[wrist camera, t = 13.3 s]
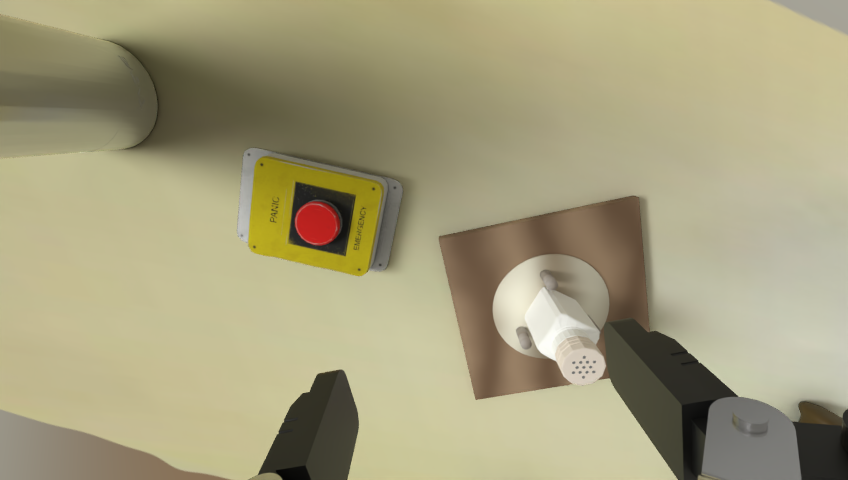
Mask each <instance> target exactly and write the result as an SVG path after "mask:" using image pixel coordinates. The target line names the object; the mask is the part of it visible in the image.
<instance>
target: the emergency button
mask: <svg viewBox="0 0 848 480" xmlns="http://www.w3.org/2000/svg"><path fill="white" fill-rule="evenodd" d="M402 194H403V187H402V185H401V184H400V182H399V181H397V180H394V179H391V178H387V177H383V176H378V175H374V174H369V173H365V172H361V171H356V170H352V169H347V168H343V167H339V166H334V165H330V164H325V163H321V162H317V161H312V160H308V159H303V158H299V157H295V156H290V155H286V154H281V153H277V152H273V151H268V150H264V149H259V148H249V149H247V150H246V151H245V152H244V155H243V163H242V175H241V187H240V199H239V211H238V224H237V234H238V237H239V238H240V239H241V240H242V241H244V242H246V243H248V247H249V249H250V250H251V251H252V252H254V253H256V254H260V255H265V256H269V257H274V258H278V259H283V260H287V261H292V262H296V263H301V264H305V265H310V266H314V267H319V268H323V269H328V270H332V271H337V272H341V273H346V274H350V275H355V276H362V275H364V274H365V273H367V272H368V270H371V271H382V270H384V269H386V267H387V265H388V262H389V257H390V252H391V247H392V243H393V238H394V233H395V228H396V223H397V218H398V213H399V209H400V204H401V199H402Z"/></svg>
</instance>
